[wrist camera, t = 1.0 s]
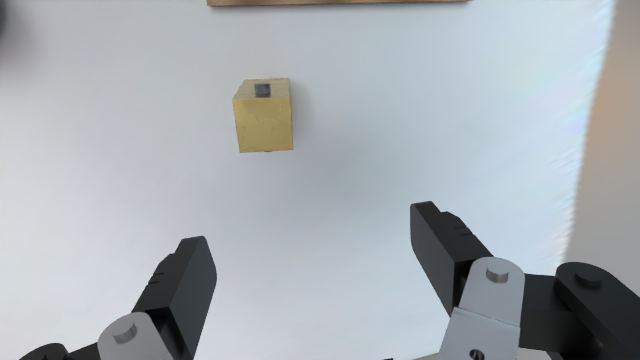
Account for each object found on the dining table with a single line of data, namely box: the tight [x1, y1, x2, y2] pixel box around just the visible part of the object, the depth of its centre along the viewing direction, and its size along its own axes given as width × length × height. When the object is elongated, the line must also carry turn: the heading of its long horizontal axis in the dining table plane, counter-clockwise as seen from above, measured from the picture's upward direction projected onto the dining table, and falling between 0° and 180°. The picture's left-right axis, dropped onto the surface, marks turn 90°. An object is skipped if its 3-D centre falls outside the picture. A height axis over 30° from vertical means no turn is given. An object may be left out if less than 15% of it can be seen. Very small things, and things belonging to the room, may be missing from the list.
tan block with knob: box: [232, 78, 293, 153], centre depth 27 cm, size 4×5×8 cm
